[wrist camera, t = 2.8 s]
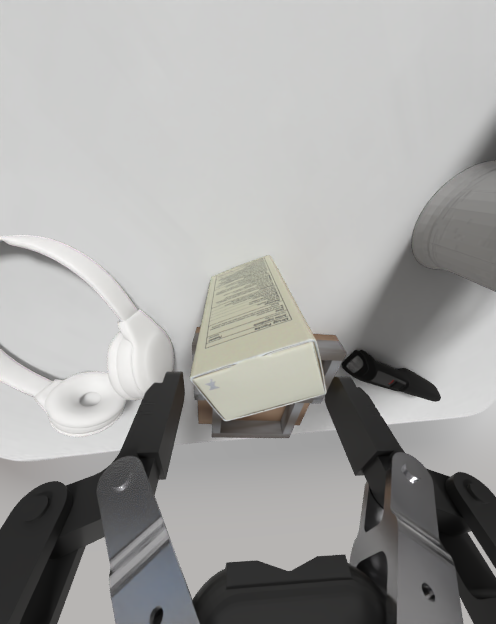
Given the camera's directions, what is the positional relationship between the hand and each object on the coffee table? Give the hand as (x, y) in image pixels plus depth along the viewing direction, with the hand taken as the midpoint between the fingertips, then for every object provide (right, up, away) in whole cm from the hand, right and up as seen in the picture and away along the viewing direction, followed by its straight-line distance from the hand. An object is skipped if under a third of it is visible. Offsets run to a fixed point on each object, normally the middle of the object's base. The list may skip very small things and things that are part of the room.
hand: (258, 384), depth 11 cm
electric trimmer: (+19, -4, +18) cm, 27 cm away
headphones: (-19, +2, +12) cm, 23 cm away
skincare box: (0, +7, +10) cm, 12 cm away
